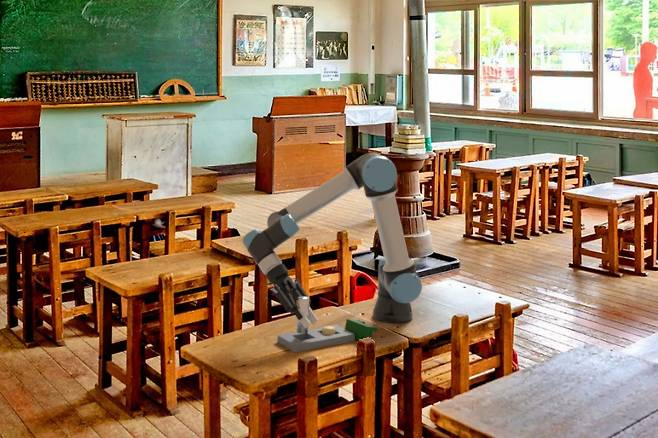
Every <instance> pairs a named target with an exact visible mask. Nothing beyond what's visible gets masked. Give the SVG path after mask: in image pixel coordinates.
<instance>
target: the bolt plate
mask: <svg viewBox="0 0 658 438" xmlns="http://www.w3.org/2000/svg"><path fill="white" fill-rule="evenodd" d="M349 341H351V342H355V341H356V339H355V334H354V333H352V332H350V331H348V330H346V329H345V327H342V326H340V325H339V324H332V325H326V326H321V327H314V328H309V332H308V333H305V334H301V333H297V331H294V332H292V331H291V332H287V333H280V334H277V343H278V344H281V345H282V346H284V347H286V348H287V349H288V350H290V351H291V352H293V353H298V352H304V351H310V350H314V349H320V348H325V347H329V346H335V345H341V344H346V343H350V342H349ZM345 342H346V343H345Z"/></svg>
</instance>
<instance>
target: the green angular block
mask: <svg viewBox="0 0 658 438" xmlns="http://www.w3.org/2000/svg"><path fill="white" fill-rule="evenodd" d="M344 329H346V330H348V331H350V332H352V333H354V334H355V340H357V341H359V339H363V338H367V337H369V338H370V337H372V338H373V336H374V332H378V331H379V326H376V325H373V324H366V322H365V321H363V320H360V319H351V318H347V319H346V322H345V326H344ZM370 339H371V338H370Z"/></svg>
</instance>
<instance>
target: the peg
mask: <svg viewBox="0 0 658 438" xmlns="http://www.w3.org/2000/svg"><path fill="white" fill-rule="evenodd" d="M309 298H310V297H309V296H308V297H306V296H300V297H298V298H297V301H296V302H297V303H296V305H297V307H298V309H299V308H301V310H302V311H303V313H304V314H305V316H306V317H307V319H308V320H309V306H310V304H309ZM309 321H310V320H309ZM309 326H310V325H309ZM309 326H308V327H307V328H304V326H303V325H302V323H301V322H300V321H299V320H298V319H297V318H296V332H297V333H301V334H305V333H308V332H309V329H310V327H309Z"/></svg>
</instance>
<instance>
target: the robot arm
mask: <svg viewBox="0 0 658 438" xmlns="http://www.w3.org/2000/svg"><path fill="white" fill-rule="evenodd" d="M397 177H398V172H397V168H396V165H395V164H394V163H393V162H392V160H391V159H389V158H388V157H386V156H383V155H381V154H379V153H378V152H368V153H365V154H363V155H360V156H359V157H358V158H356V159H355V160H353V161H352V162H351V163H349V164H348V165H345V166H344V167H343V171H341V172H340V173H339V174H337V175H335V176H334V177H332V178H330V179H328V180H327V181H325V182H324V183H322V184H321V185H319V186H318V187H316V188H314V189H312V190H311V191H310V192H308V193H306V194H304V195H303V196H301V197H300V198H298V199H297V200H295V201H293V202H291V203H290V204H288V205H287V206H285V207H283V208H281V209H280V210H279V211H273V212H271V213H270V214H269V215H268V217H267V228H265V229H264V230H262V231H261V230H260V229H258V228H255V229H253V230H251V231H248V233H246V234H245V235H244V236H243V238H242V244H243V245H244V247H245V248H246V250H247V252H248V254H249V255H250V256H251V258H252V259H253V261H254V262H255V263H256V264H257V267H259V269H260V271H261V272H262V273H263V275H265V277H266V279H267V281H268V283H269V284H271V285H273V288H272V289H271V290H270V293H272V294H274V295H275V297H276V299H277V300H278V301H279V302H280V304H281V305H282V306H283V308H284V310H286V312H287V313H289V314H290V315H293V314H294V315H295V318H296V320H297V319H298V320H299V321H300V322H301V323H302V325H303V326H304V328H307V327H308V326H310V325H313V326H315V324H317V323H318V322H319V318H318V317H317V315H316V313H314V312H315V311H313V309H312V308H311V306H310V304H311V302H312V300H311V298H310V297H309V296H308V294H307V292H306V291H305V289H304V288H303V285H301V283H300V280H299V279H298V278H295V279H293V278H291V277H290V275H289V270H288V268H287V267H286V266H285V264H284V263H283V261H282V259H281V258H280V257H279V255H278V254H277V253H276V251H275V249H277V248H278V247H279V246H280V245H282V244H283V243H285V242H287V240H289V239H290V238H292V237H294V236H295V235H296V234H297V233H299V231H300V230H301V229H300V227H299V223H301V222H303V221H305V220H306V219H307V218H309V217H311V216H312V215H315V214H316V213H317V212H319V211H320V210H322V209H324V208H325V207H327V206H329V205H330V204H332V203H333V202H335V201H336V200H338V199H340V198H342V197H343V196H345V195H346V194H348V193H350V192H351V191H353V190H356V191H358V190H360V189H362V188H363V190H364V194H365V195H364V196H365V198H367V199H368V200H370V202H371V205H372V211H373V215H374V217H375V218H374V219H375V223H376V227H377V232H378V236H379V241H380V244H381V250H382V252H383V253H382V254H383V258H380V259H379V261H378V267H377V268H378V274H377V275H378V276H377V278H378V279H377V289H378V290H377V297H376V298H377V299H376V300H375V304H374V307H373V309H372V317H373V319H375V320H377V321H380V322H384V323H392V324H393V323H406V322H409V321H411V320H413V314H414V313H413V310H412V305H411V303H412V302H414V301H416V300H417V299H418V298H419V297H420V295H421V293H422V289H423V284H422V281H421V278H420V277H419V276H418V273H417V269H416V265H415V261H414V260H413V259H411V258H410V257H409V252H408V247H407V244H406V240H405V234H404V230H403V225H402V222H401V218H400V212H399V208H398V203H397V200H396V199H397V198H396V194H397V192H398V190H399V188H398V185H397ZM300 296H306V297H309V320H308V319H307V317H306V316H305V314H304V313H303V311H302V310H301V308H299V309H298V307H297V303H296V302H297V298H298V297H300Z"/></svg>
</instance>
